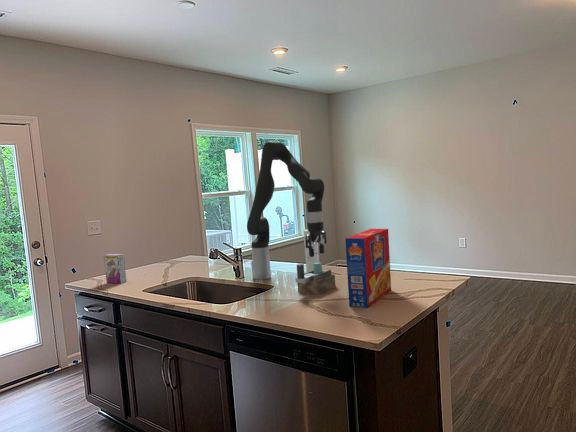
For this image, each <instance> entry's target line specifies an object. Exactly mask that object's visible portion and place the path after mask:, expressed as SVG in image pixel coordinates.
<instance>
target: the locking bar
mask: <svg viewBox="0 0 576 432" xmlns="http://www.w3.org/2000/svg"><path fill="white" fill-rule="evenodd" d="M304 273H305V265H304V264H303V263H301V264H300V263H297V264H296V277H295V283H306V282H309V281H311V280H313V275H316V274H310V273H307V274H305V275H304Z"/></svg>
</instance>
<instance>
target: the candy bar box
mask: <svg viewBox="0 0 576 432" xmlns="http://www.w3.org/2000/svg"><path fill="white" fill-rule="evenodd" d="M124 255H125V254H123V253H121V254H119V253H108V254H104V255H103V263H104V268H105V269H104V270H105V271H104V272H105V280H106V283H107V284H116V285H117V284H118V285H120V284H124V283H127V273H126V264H125V262H126V261H125V256H124Z"/></svg>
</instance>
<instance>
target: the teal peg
mask: <svg viewBox="0 0 576 432" xmlns="http://www.w3.org/2000/svg"><path fill="white" fill-rule="evenodd" d="M313 266H314V274H319V273H321V272H323V263H322V262H319V263H313Z"/></svg>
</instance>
